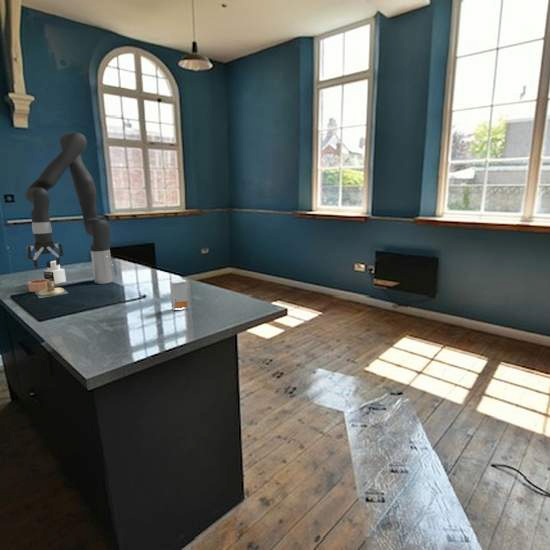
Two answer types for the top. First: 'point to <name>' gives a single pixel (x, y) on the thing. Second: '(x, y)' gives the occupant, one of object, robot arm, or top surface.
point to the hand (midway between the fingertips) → (47, 266)
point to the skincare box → (179, 293)
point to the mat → (49, 296)
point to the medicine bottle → (54, 272)
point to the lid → (51, 290)
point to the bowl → (37, 285)
